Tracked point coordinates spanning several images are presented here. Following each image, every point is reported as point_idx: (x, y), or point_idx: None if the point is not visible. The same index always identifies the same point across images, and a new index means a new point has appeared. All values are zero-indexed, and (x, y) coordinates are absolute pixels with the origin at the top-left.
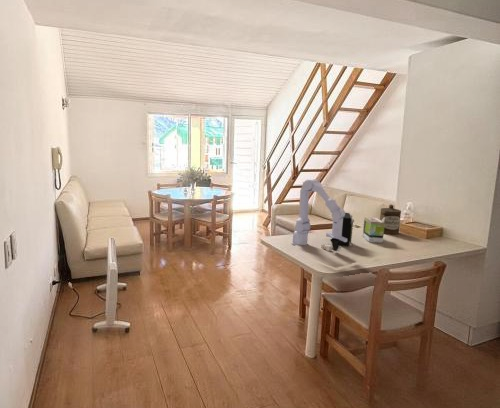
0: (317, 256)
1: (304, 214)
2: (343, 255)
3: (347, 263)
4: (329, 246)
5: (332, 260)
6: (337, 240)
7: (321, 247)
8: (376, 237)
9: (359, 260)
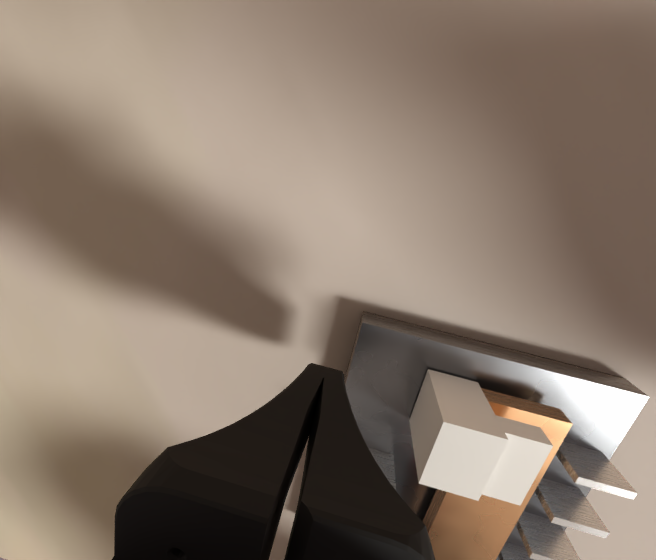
0: (492, 74)
1: None
2: (244, 394)
3: (46, 149)
4: (438, 431)
5: (224, 94)
6: (143, 544)
7: (595, 452)
8: None
9: (51, 354)
